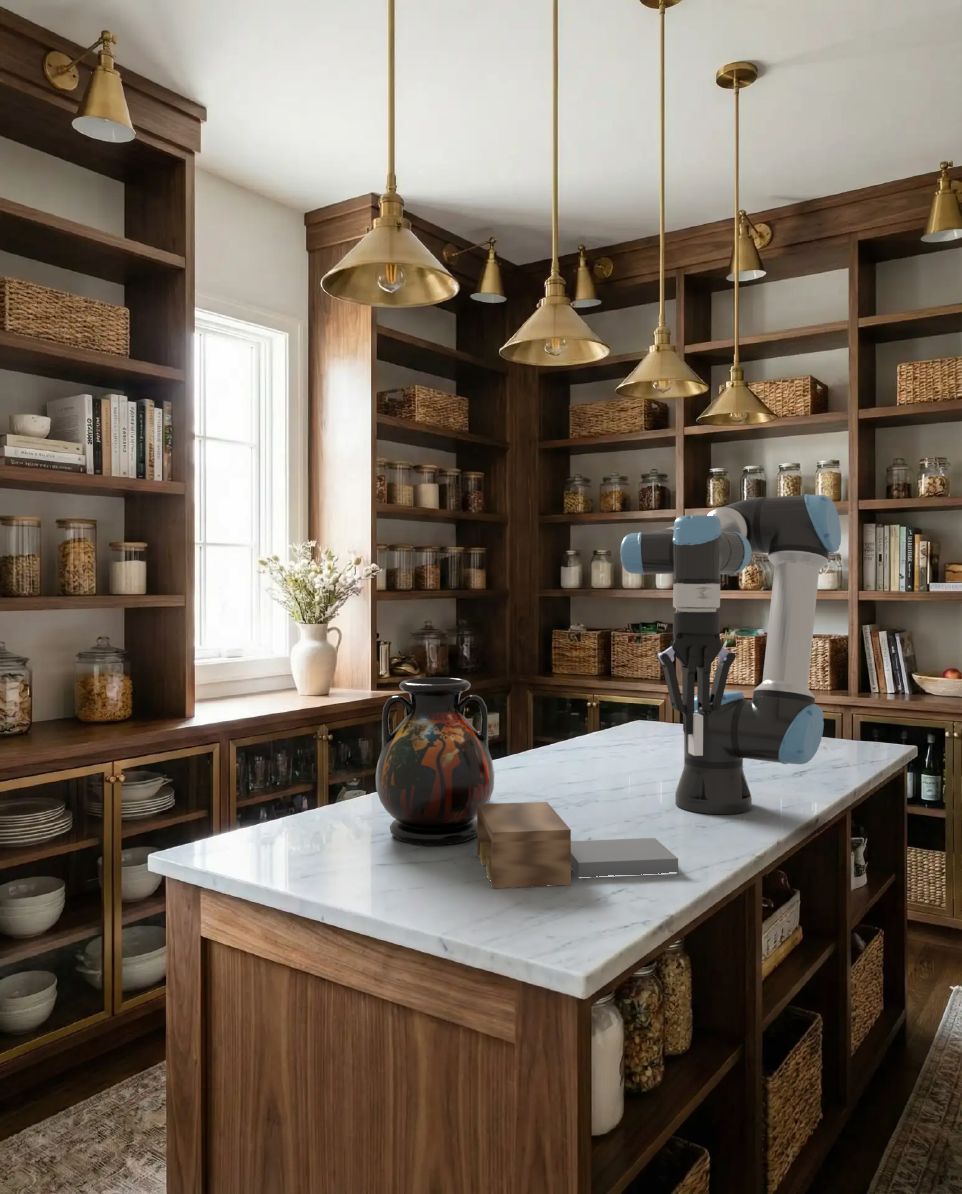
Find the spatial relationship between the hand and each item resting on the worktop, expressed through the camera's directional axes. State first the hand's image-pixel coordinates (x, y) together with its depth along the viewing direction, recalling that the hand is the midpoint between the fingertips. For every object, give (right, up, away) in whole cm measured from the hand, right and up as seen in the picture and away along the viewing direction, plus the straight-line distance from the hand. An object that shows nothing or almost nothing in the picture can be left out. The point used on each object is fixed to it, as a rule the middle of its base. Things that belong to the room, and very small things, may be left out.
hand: (695, 753), depth 157 cm
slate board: (-13, -18, -1) cm, 22 cm away
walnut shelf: (-29, -18, -3) cm, 34 cm away
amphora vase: (-43, -18, +17) cm, 50 cm away
